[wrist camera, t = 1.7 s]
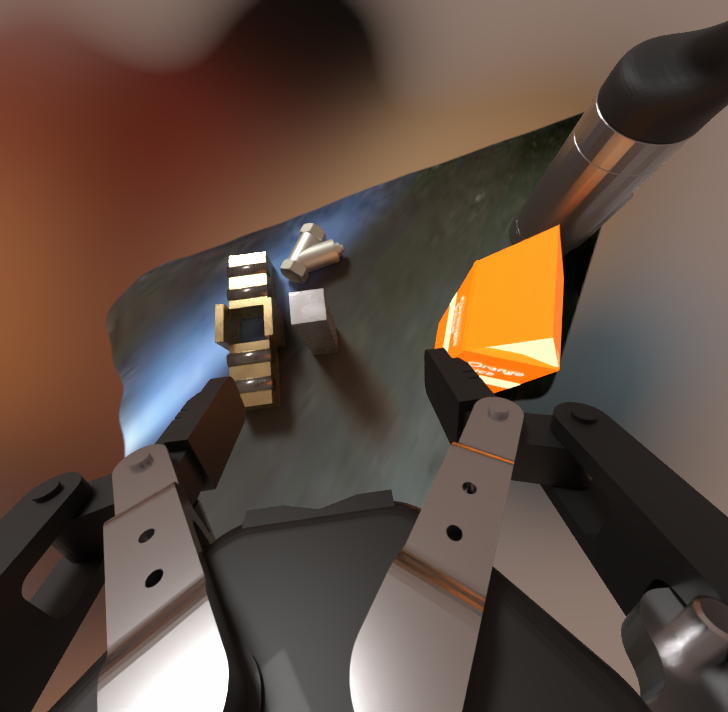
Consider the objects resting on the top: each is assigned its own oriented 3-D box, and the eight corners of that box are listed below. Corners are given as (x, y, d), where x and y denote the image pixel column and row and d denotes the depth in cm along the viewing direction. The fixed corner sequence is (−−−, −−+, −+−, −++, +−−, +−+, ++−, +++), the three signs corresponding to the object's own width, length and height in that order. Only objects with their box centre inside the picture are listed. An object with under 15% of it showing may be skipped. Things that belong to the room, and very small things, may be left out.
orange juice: (427, 383, 37) (488, 325, 18) (438, 322, 39) (502, 212, 20) (487, 396, 36) (620, 351, 17) (495, 333, 38) (619, 231, 19)
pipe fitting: (347, 252, 43) (307, 236, 44) (346, 235, 40) (303, 218, 40) (326, 295, 41) (284, 279, 42) (323, 282, 38) (277, 264, 38)
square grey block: (336, 328, 39) (323, 288, 29) (338, 351, 38) (326, 319, 28) (311, 331, 39) (289, 292, 29) (313, 355, 38) (291, 324, 28)
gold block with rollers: (280, 265, 42) (268, 243, 37) (288, 405, 36) (276, 400, 32) (233, 271, 42) (216, 250, 37) (235, 412, 36) (214, 409, 31)
